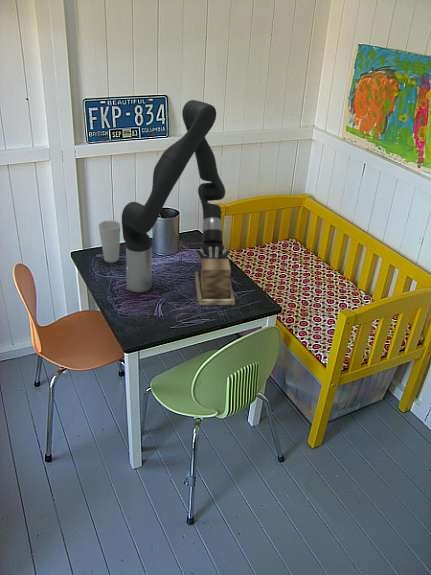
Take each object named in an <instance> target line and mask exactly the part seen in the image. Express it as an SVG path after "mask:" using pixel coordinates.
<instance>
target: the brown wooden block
mask: <svg viewBox="0 0 431 575" xmlns="http://www.w3.org/2000/svg"><path fill="white" fill-rule="evenodd" d="M200 262H201V263H200V277H199V283H200V291H201V299H230V297H229V291H230V289H229V287H230V281H231V278H232V276H231V274H232V273H231V272H232V270H231V269H232V268H231V265H230V260H229V258H226V259H221V258H218V259H214V258H213V259H209V258H206V259H202V260H201V259H200Z"/></svg>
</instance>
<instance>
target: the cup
mask: <svg viewBox="0 0 431 575" xmlns="http://www.w3.org/2000/svg"><path fill="white" fill-rule="evenodd" d="M98 230H99V236H100V237H99V238H100V241H101V248H102V255H103V260H104V261H105V262H107V263H110V264H111V263H116V262H118V261H119V259H120V241H121V236H120V235H121V223H120V222H119V221H116V220H104V221H101V222H100V223H99V224H98Z"/></svg>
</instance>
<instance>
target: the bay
mask: <svg viewBox="0 0 431 575" xmlns="http://www.w3.org/2000/svg"><path fill="white" fill-rule="evenodd" d="M199 276H200V275H199V271H194V279H195V281H194V282H195V288H196V296H197V297H196V298H197V306H235V304H236V300H235V294H234V291H233V287H232V281H231V280H230V287H229V289H230V291H229V298H202V296H201V288H200V277H199Z"/></svg>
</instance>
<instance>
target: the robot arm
mask: <svg viewBox="0 0 431 575" xmlns="http://www.w3.org/2000/svg"><path fill="white" fill-rule="evenodd" d="M181 114H182V120H183V123H184V124H183V125H184V126H185V128H186V133H185V134H184V135H183V136H182V137H181V138H180V139H179V140H177V141H175V142H174V143H173V144H171V145H170V146H168V147H167V149H165V150H164V152H163V153H162V154H161V156H160V157H159V159H158V161H157V163H156V164H155V165H154V168H153V169H154V170H153V174H152V187H151V192H150V194H149V197H148V199H147V200H146V202H145V204H144V205H143V204H141V203H139V202H138V201H137V202H136V201H131V202H128V203H126V205H125V206H124V207H123V210H122V212H121V229H122V230H121V231H122V238H123V241H124V243H125V261H126V262H125V263H126V265H125V274H126V275H125V277H126V279H125V280H126V290H127V291H131V292H134V293H144V292H147V291H149V290H150V289H151V288H152V284H153V281H152V279H153V278H152V272H153V271H152V268H153V267H152V238H151V237H150V235H149V234H148V233H149V232H150V231H151V230H152V229H153V228H154V226H155V224H156V222H157V220H159V216H160V214H161V212H162V210H163V208H164V205H166V204H165V203H166V201H167V200H168V198H169V196H170V194H171V193H172V191H173V189H174V187H175V185H176V184H177V182H178V180H179V179H180V178H181V175H182V174H183V172H184V171H185V169H186V167H187V165H188V164H189V162H190V159H191V158H192V157H193V155H194V154H195V155H194V156H195V158H196V159H195V160H196V164H197V169H198V174H199V179H201V180H202V181H205V182H203V183H201V184H199V186H198V188H197V193H198V196H199V199H200V203H201V207H202V246H201V248H200V249H198V250H197V252H196V256H198V258H199V259H200V261H201V260H202V259H219V257H220V256H221V254H222V256H221V257H220V259H227V258H228V256H229V255H230V250H227V249H226V248H225V245H224V244H223V224H222V208H221V206H220V205H218V204H215V203H211V202H209V201H221V200H223V199H225V196H226V189H225V186H224V183H223V182H222V179H221V178H220V175H219V173H218V168H217V167H218V166H217V161H216V157H215V154H214V152H213V150H212V147H211V146H210V144H209V142H208V141H207V139H206V136H207V135H208V134H209V133H210V130H211V129H212V127H213V126H214V124H215V122H216V119H217V109H216V107H215V106H214V105H212V104H210V103H207V102H204V101H200V100H195V99H192V100H188V101H187V102H185V104H184V106H183V107H182V113H181ZM204 254H205V255H204ZM206 256H207V258H206Z"/></svg>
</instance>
